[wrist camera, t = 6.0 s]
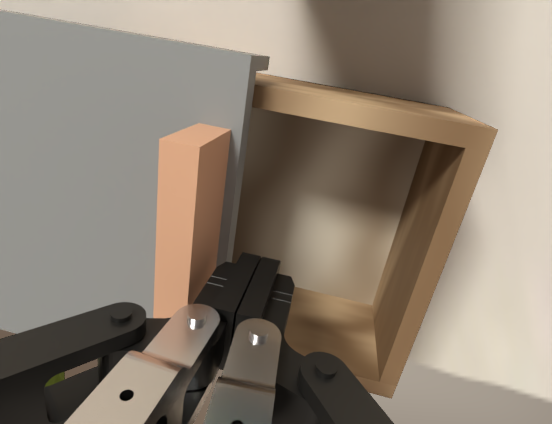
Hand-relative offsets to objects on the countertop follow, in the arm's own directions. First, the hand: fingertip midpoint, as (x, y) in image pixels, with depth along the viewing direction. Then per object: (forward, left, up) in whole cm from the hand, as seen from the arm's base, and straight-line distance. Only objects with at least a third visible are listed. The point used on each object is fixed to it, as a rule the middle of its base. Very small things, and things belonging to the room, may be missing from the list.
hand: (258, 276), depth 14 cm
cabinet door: (+11, 0, -4) cm, 12 cm away
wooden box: (+2, 0, -9) cm, 9 cm away
